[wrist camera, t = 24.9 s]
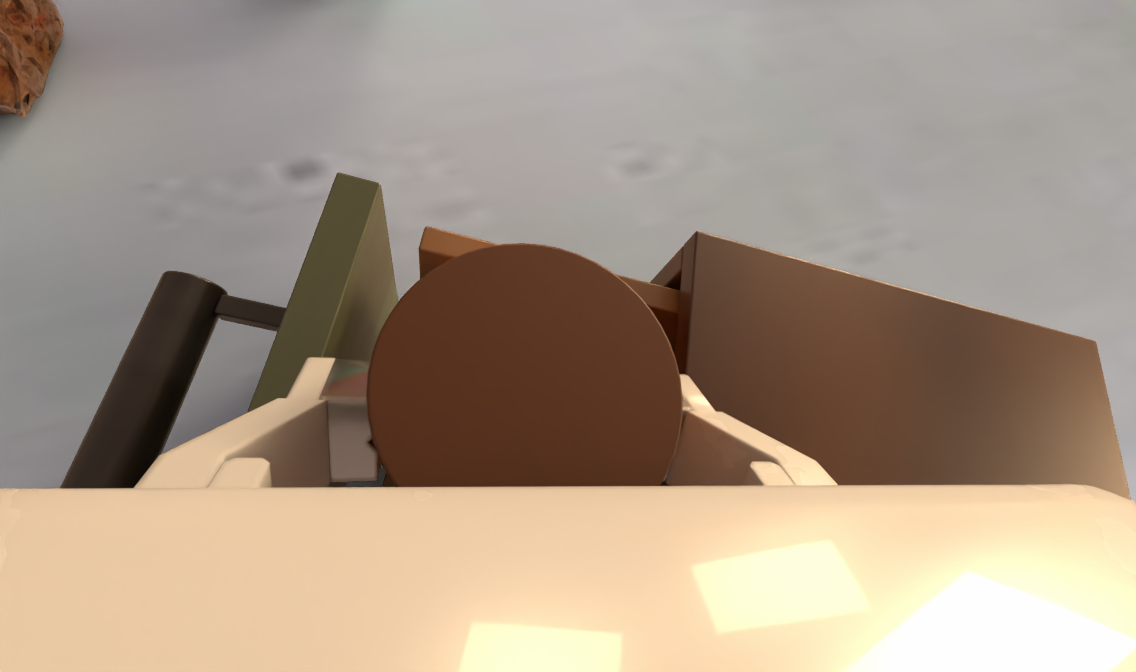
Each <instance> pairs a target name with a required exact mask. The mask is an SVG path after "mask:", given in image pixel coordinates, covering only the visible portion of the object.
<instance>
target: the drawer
mask: <svg viewBox="0 0 1136 672" xmlns="http://www.w3.org/2000/svg"><path fill="white" fill-rule="evenodd" d="M495 245H499V244H495V243H491V242H487V241H483V240H479V239H475V238H471V237H467V236H463V235H459V234H455V233H451V232H447V231H443V230H440V229H436V228H432V227H425V229H424V232H423V235H422V239H421V242H420V246H419V263H420V279H421V278H423V277H424V276H425V275H426V274H428V273H429V272H430V271H432V270H433V269H435V268H437V267H438V266H440V265H442V264H443V263H445V262H447V261H448V260H450V259H453V258H455V257H457V256H460V255H462V254H464V253H467V252H470V251H474V250H477V249H480V248H484V247H489V246H495ZM615 275H616V274H615ZM616 276H618V277H619V278H620V279H621V280H623V281H624V282H625V283H627V284H628V285H629V286H630V287H631V288H632V289H633V290H634V291H635V292H636V293H637V294H638V295H639V296H640V297H641V298H642V300H643V301H644V302H645V303H646V304H647V306H648V307H649V308H650V309H651V311H652V312H653V314H654V315H655V317H656V318H657V320H658V321H659V323H660V324H661V326H662V328H663V330H664V332H665V334H666V336H667V338H668V340H669V342H670V344H671V347H672V350H673V353H674V356H675V348H676V336H677V324H678V312H679V300H680V291H679V290H675V289H671V288H667V287H664V286H660V285H656V284H652V283H648V282H644V281H640V280H636V279H632V278H628V277H624V276H620V275H616ZM397 303H398V297H397V290H396V284H395V277H394V270H393V263H392V256H391V250H390V243H389V236H388V229H387V223H386V216H385V209H384V202H383V196H382V189H381V184H380V183H377V182H373V181H369V180H365V179H361V178H358V177H354V176H350V175H346V174H343V173H337V175H336V177H335V180H334V183H333V185H332V188H331V191H330V193H329V196H328V199H327V201H326V204H325V207H324V209H323V212H322V215H321V217H320V220H319V223H318V225H317V228H316V231H315V233H314V236H313V239H312V241H311V244H310V247H309V249H308V252H307V255H306V257H305V260H304V263H303V265H302V268H301V271H300V273H299V276H298V279H297V281H296V284H295V287H294V289H293V292H292V295H291V297H290V300H289V303H288V305H287V308H283V307H279V306H274V305H270V304H265V303H260V302H256V301H251V300H247V299H242V298H238V297H233V296H228V294H227V292H226V291H225V290H224V289H223V288H222V287H220V286H218V285H217V284H215V283H213V282H211V281H209V280H206V279H204V278H201V277H198V276H195V275H192V274H188V273H184V272H177V271H167V272H165V273H163V274H162V276H161V278H160V280H159V283H158V285H157V287H156V289H155V291H154V293H153V295H152V297H151V299H150V301H149V303H148V306H147V308H146V310H145V312H144V314H143V316H142V318H141V320H140V322H139V324H138V326H137V328H136V331H135V333H134V335H133V337H132V339H131V341H130V343H129V345H128V347H127V349H126V351H125V353H124V356H123V358H122V360H121V362H120V364H119V366H118V368H117V370H116V372H115V374H114V376H113V379H112V381H111V383H110V385H109V387H108V389H107V391H106V393H105V395H104V397H103V399H102V401H101V404H100V406H99V408H98V410H97V412H96V414H95V416H94V418H93V420H92V422H91V424H90V426H89V429H88V431H87V433H86V435H85V437H84V439H83V441H82V443H81V445H80V447H79V449H78V451H77V454H76V456H75V458H74V460H73V462H72V464H71V466H70V468H69V470H68V472H67V474H66V477H65V479H64V481H63V483H62V485H61V487H60V489H79V488H134V487H135V486H136V484H137V483H138V482H139V480H140V479H141V478H142V477H143V475H144V474H145V473H146V471H147V470H148V469H149V468H150V466H151V465H152V464H153V463H154V461H155V460H156V459H157V457H158V456H159V455H161V453H162V451H163V449H164V446H165V444H166V442H167V439H168V437H169V434H170V432H171V430H172V427H173V425H174V423H175V420H176V418H177V416H178V413H179V411H180V408H181V406H182V404H183V401H184V399H185V397H186V394H187V392H188V390H189V387H190V385H191V382H192V380H193V378H194V375H195V373H196V371H197V368H198V366H199V363H200V361H201V359H202V356H203V354H204V352H205V349H206V347H207V345H208V342H209V340H210V337H211V335H212V333H213V330H214V328H215V326H216V323H217V321H218V318H220V319H222V320H225V321H230V322H235V323H239V324H244V325H249V326H253V327H258V328H263V329H268V330H272V331H277V335H276V337H275V340H274V343H273V345H272V348H271V351H270V353H269V356H268V359H267V361H266V364H265V367H264V369H263V372H262V375H261V377H260V380H259V383H258V385H257V388H256V391H255V393H254V396H253V399H252V401H251V404H250V407H249V409H248V412H250V411H252V410H254V409H257V408H259V407H261V406H263V405H265V404H267V403H269V402H271V401H273V400H275V399H277V398H286V397H287V395H288V394H289V392H290V390H291V388H292V386H293V384H294V382H295V380H296V378H297V376H298V374H299V373H300V371H301V369H302V367H303V365H304V363H305V361H306V359H307V358H310V357H322V358H336V359H353V360H369V361H370V360H371V356H372V351H373V349H374V346H375V343H376V341H377V338H378V335H379V333H380V331H381V329H382V327H383V325H384V323H385V321H386V320H387V318H388V316H389V314H390V313H391V311H392V310H393V309H394V307H395V306H396V305H397ZM248 412H247V413H248ZM345 486H346V482H330V485H329V486H327V487H345ZM660 486H664V481H662V483H661V485H660ZM382 487H395V486H394V485H393V483H392V482H391V480H390V479H389V477H388V475H387V473H386V474H385V478H384V481H383V485H382Z"/></svg>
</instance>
